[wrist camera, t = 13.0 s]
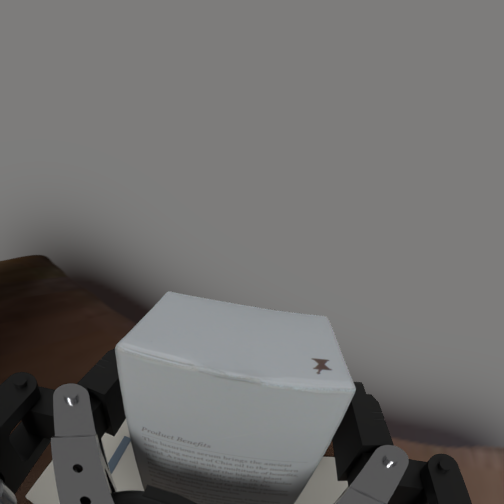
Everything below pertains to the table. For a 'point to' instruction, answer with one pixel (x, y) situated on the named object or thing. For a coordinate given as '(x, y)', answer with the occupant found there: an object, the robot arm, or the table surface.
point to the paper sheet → (127, 478)
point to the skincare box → (231, 399)
